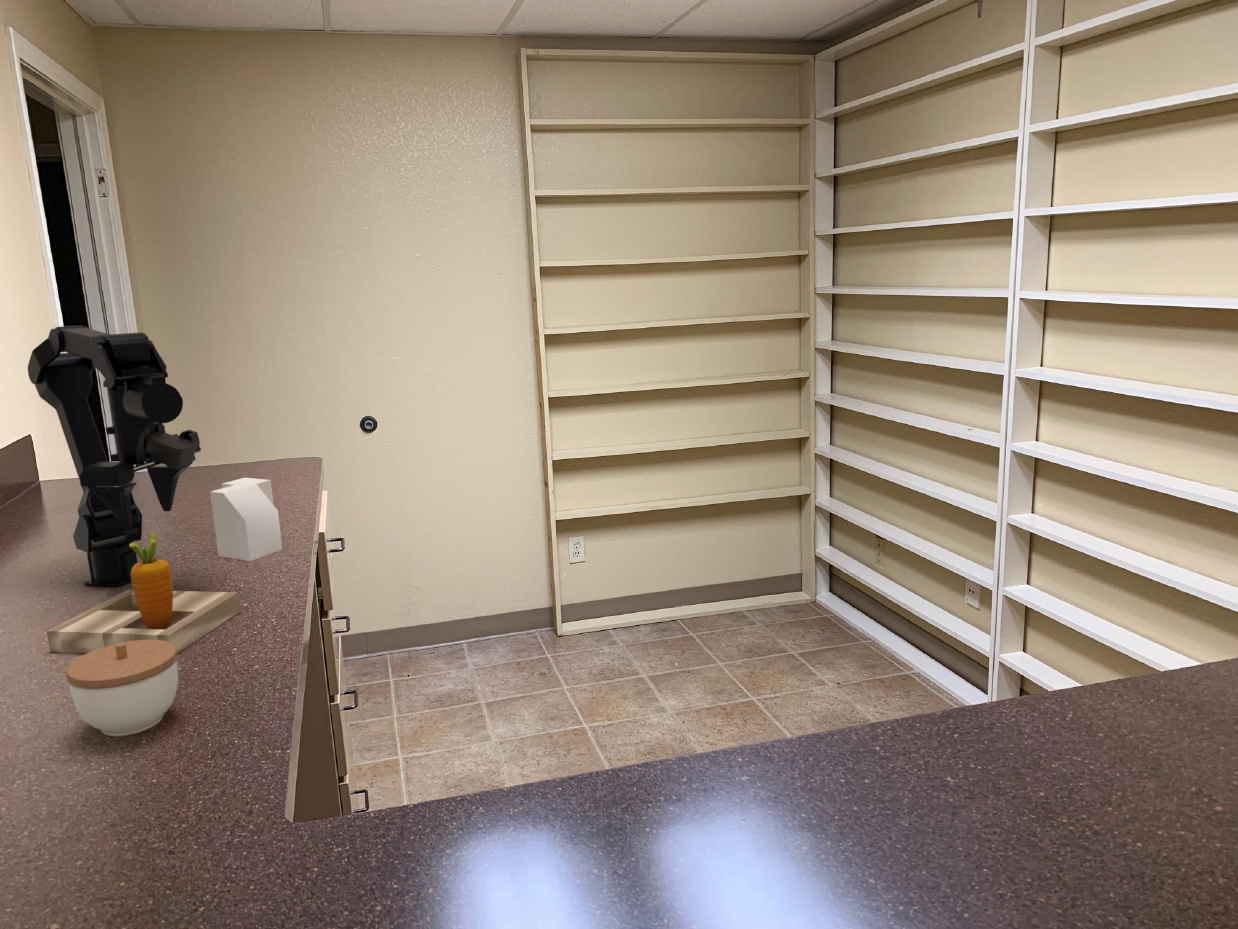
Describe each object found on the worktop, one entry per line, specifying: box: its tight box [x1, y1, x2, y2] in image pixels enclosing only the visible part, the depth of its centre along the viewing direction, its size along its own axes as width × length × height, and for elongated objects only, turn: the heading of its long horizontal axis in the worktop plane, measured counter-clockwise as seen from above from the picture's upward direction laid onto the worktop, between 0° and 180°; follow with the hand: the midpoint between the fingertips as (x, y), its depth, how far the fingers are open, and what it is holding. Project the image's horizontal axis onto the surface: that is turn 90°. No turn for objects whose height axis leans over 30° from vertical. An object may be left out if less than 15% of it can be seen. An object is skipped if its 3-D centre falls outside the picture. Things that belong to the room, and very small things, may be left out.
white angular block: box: [209, 477, 283, 562], centre depth 163 cm, size 11×11×12 cm
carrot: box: [129, 532, 174, 630], centre depth 121 cm, size 5×5×15 cm
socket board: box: [46, 589, 241, 654], centre depth 126 cm, size 18×16×3 cm
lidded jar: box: [65, 640, 179, 737], centre depth 99 cm, size 11×11×9 cm
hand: (148, 519), depth 136 cm, fingers open, 9 cm apart
